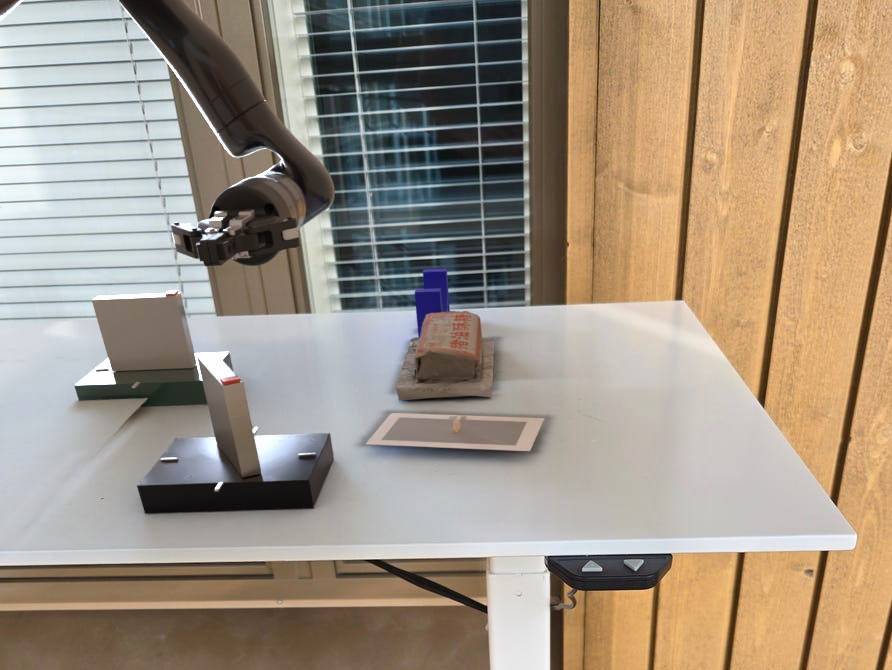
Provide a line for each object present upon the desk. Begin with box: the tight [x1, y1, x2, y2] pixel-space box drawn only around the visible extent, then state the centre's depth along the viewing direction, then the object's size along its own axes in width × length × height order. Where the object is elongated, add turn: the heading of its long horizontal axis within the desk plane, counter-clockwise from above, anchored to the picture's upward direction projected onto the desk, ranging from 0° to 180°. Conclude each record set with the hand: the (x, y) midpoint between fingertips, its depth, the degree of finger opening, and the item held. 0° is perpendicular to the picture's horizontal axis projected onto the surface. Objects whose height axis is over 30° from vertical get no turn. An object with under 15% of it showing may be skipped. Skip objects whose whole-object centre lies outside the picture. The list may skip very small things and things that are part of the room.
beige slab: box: [91, 290, 197, 371], centre depth 95 cm, size 9×2×8 cm, turn 88°
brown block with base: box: [395, 310, 495, 401], centre depth 97 cm, size 18×5×10 cm
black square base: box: [136, 426, 335, 514], centre depth 75 cm, size 14×13×3 cm
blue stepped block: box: [414, 268, 456, 338], centre depth 111 cm, size 12×4×6 cm, turn 178°
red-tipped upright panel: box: [197, 352, 261, 478], centre depth 72 cm, size 9×2×8 cm, turn 27°
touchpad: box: [365, 412, 545, 452], centre depth 81 cm, size 8×15×2 cm, turn 77°
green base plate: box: [73, 351, 235, 407], centre depth 97 cm, size 14×13×3 cm
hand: (209, 253), depth 79 cm, fingers closed
